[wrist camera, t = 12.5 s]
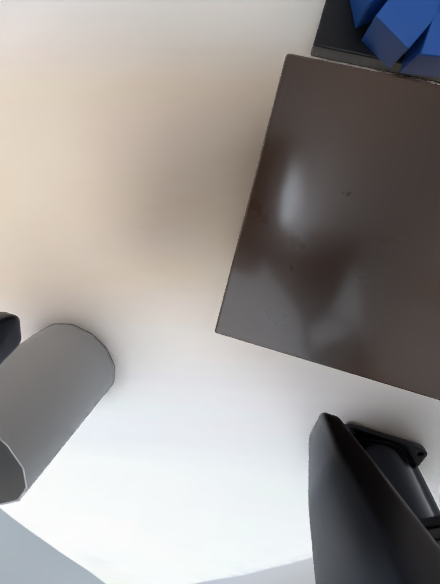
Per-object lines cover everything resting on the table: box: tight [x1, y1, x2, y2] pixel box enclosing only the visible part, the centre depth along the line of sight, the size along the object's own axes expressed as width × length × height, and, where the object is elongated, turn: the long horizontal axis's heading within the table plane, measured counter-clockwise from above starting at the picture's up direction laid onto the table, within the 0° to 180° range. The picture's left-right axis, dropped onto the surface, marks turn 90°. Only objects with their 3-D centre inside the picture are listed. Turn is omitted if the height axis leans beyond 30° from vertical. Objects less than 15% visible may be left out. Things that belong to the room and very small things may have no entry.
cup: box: [0, 324, 114, 505], centre depth 22 cm, size 8×8×10 cm
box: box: [215, 54, 440, 400], centre depth 14 cm, size 10×10×8 cm
